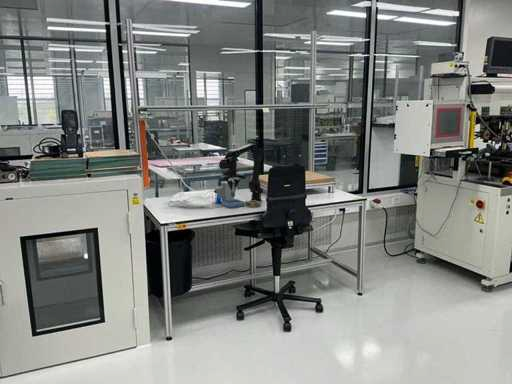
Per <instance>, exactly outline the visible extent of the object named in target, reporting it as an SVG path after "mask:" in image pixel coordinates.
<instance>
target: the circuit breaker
mask: <svg viewBox="0 0 512 384" xmlns="http://www.w3.org/2000/svg"><path fill="white" fill-rule="evenodd" d="M220 183H221V185H220V186H215V187H214V188H215V189H214V191H213V193H214V192H215V193H217V194H218V195H220V196H221V198H222V201H226V200H233V199H235V197H231V190H230V187H229V185H228V183H227V181H221V180H220ZM215 193H214V194H215ZM221 198H220V199H221Z"/></svg>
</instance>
